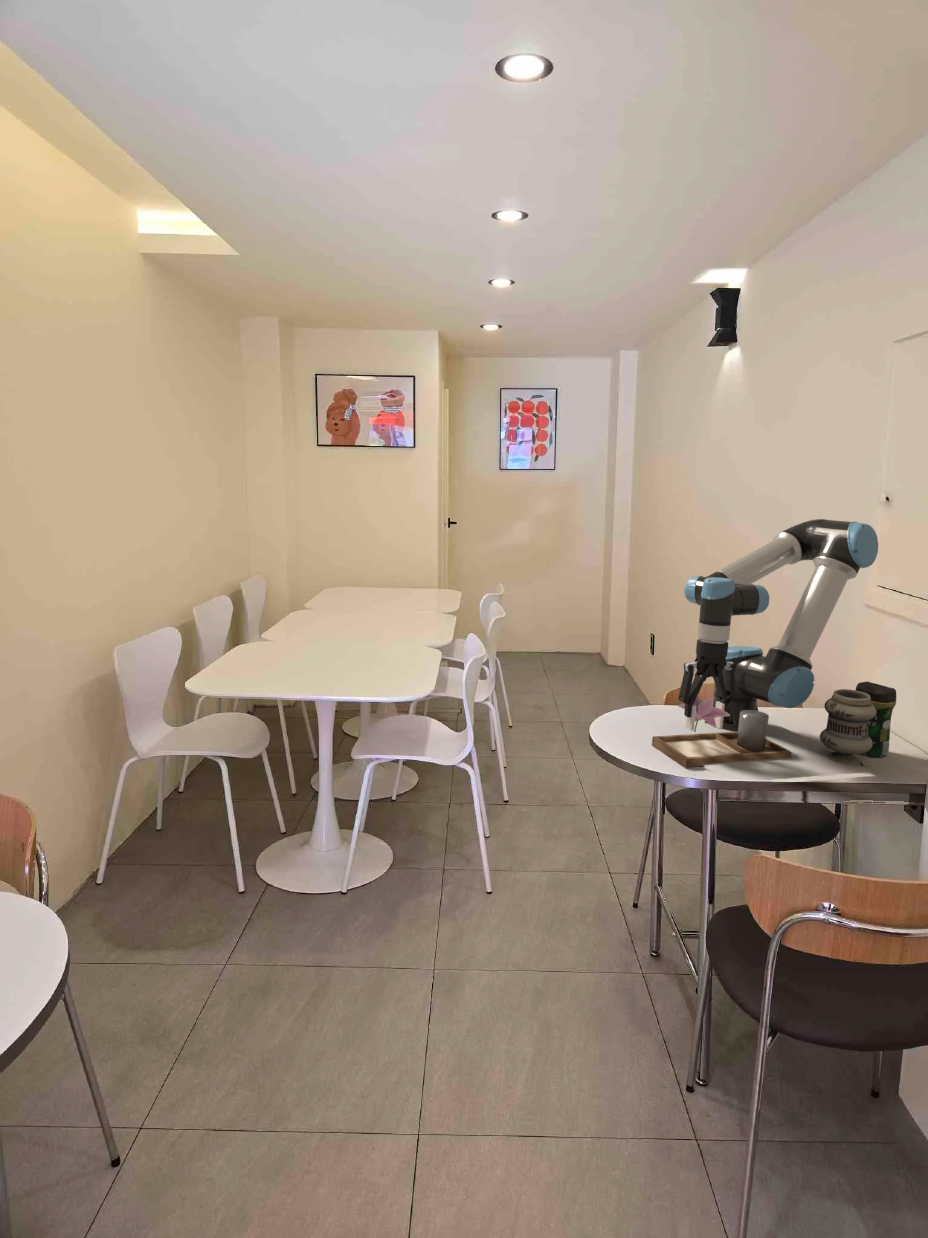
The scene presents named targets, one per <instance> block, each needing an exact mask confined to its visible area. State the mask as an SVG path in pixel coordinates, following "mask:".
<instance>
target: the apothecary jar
mask: <svg viewBox="0 0 928 1238" xmlns="http://www.w3.org/2000/svg"><path fill="white" fill-rule="evenodd" d="M824 710H825V712H827V714H828V716H827V723H826V728H825V729H823V730H822V731H821V732H820V734H819V740H820V742H821V744H823V745H824V747H825V748H827V749H829V750H830V751H831V752H828V753H826V755H825V756H826V757H827V758H828V759H830V760H832V761H834V762H838V763H843V764H856V765H858V766H860V767H863V766H864V767H865V763H864V762H863V761H862V759H860V758H858V757H857V756H858V755H864V754H863V753H866V752H868V751H869V750H870V749H871V748H872V740H871V738H870V737H869V736H868V730H869V722H870V719H872V718H874V717H875V715H876V709H875V707H874V706H873V705H872V704H871V697H870V695H868V694H867V693H864V692H860V691H856V689H854V690H853V689H847V688H845V689H836V690H834V691H833V693H832V696H831V697H830V698H828V699H827V700H826V701H825V703H824Z"/></svg>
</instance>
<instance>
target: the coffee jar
mask: <svg viewBox="0 0 928 1238" xmlns="http://www.w3.org/2000/svg"><path fill="white" fill-rule="evenodd" d="M855 690H856V691H860V692H864V693H867V694H868V695H870V697H871V704H872V705H873V706H874V707H875V709H876V715H875V717H874V718H872V719H870V722H869V730H868V736H869V737H870V738H871V740H872V748H871V749H870V750H869V751H868V752H866V753H863V754H862V755H864V754H865V756H867V757H871V756H872V758H882V757H881V756H883V757H885V756H887V755H889V752H890V735H891V723H892V722H891V721H892V716H893V711H894V709H895V707H896V705H897V690H896V689H895V688H893V687H890V686H886V685H882V684H879V683H874V682H871V681H867V680H866V681H862V682H859V683H857V685H856V686H855Z"/></svg>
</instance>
